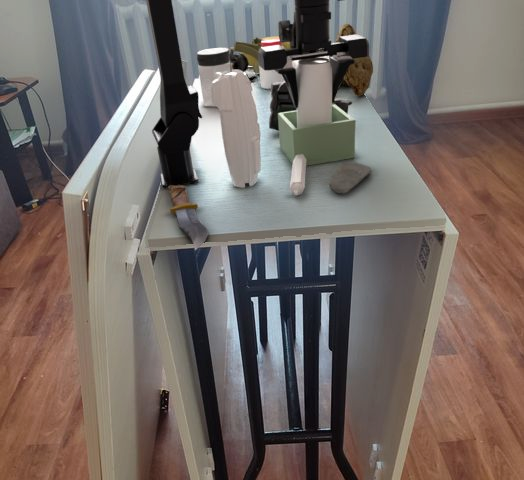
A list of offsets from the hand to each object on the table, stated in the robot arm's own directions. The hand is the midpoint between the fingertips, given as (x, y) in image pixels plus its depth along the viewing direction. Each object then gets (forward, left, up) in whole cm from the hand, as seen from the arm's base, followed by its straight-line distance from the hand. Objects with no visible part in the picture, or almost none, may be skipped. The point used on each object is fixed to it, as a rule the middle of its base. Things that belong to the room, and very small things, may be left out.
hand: (314, 104), depth 98 cm
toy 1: (+66, +8, -6) cm, 67 cm away
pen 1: (+64, +4, -8) cm, 65 cm away
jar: (+48, +12, -9) cm, 50 cm away
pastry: (+39, -20, -2) cm, 44 cm away
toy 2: (+91, -3, -7) cm, 91 cm away
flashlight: (-9, +16, -9) cm, 20 cm away
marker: (-13, +7, -9) cm, 17 cm away
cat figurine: (+20, -4, -9) cm, 22 cm away
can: (0, 0, -5) cm, 5 cm away
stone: (-15, +1, -8) cm, 16 cm away
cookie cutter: (+71, -5, -5) cm, 71 cm away
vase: (+42, -17, -5) cm, 46 cm away
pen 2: (+35, -8, -9) cm, 37 cm away
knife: (-20, +24, -8) cm, 32 cm away
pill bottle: (+58, -5, -9) cm, 59 cm away
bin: (0, 0, -9) cm, 9 cm away
